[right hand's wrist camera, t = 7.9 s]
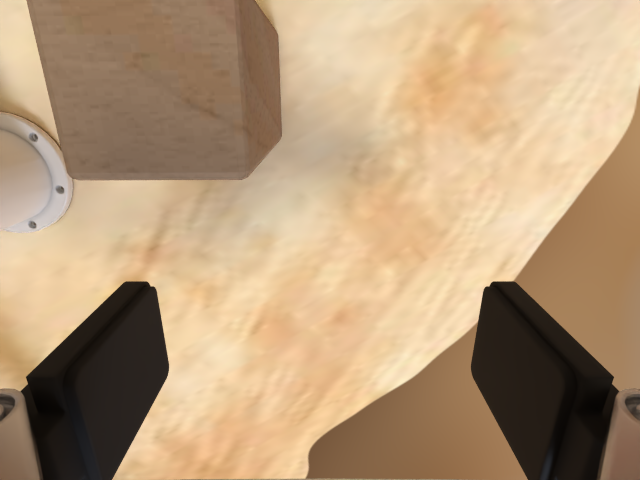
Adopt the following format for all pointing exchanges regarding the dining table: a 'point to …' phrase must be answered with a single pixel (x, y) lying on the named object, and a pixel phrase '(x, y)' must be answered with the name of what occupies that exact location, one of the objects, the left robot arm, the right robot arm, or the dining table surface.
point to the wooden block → (160, 86)
